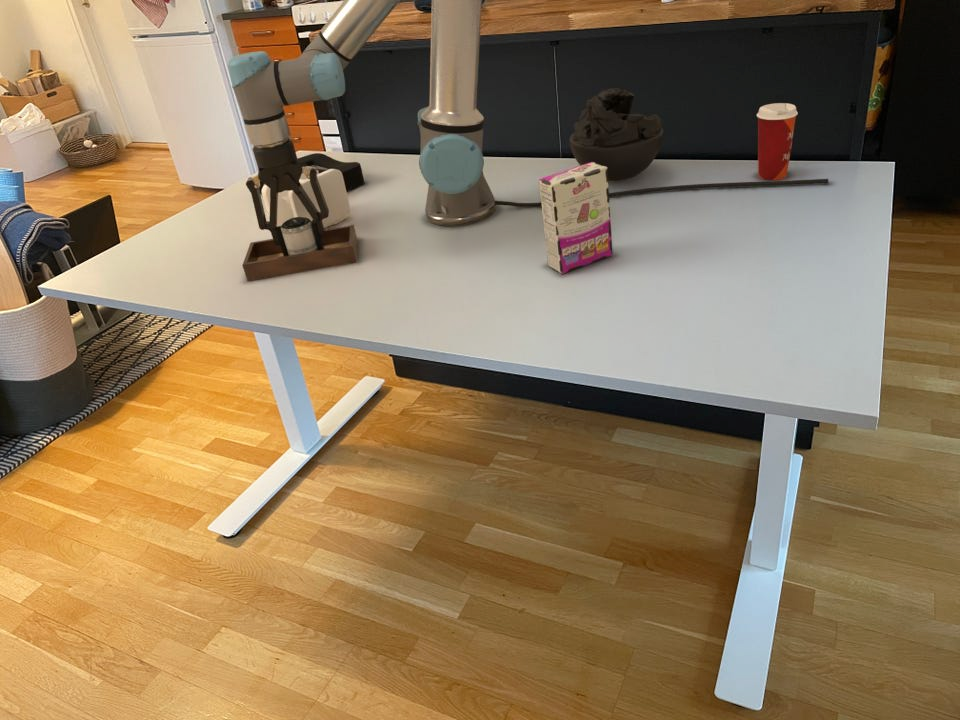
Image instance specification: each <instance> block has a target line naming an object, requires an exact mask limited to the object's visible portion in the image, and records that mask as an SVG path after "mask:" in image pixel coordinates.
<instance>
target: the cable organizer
mask: <svg viewBox="0 0 960 720" xmlns="http://www.w3.org/2000/svg"><path fill="white" fill-rule="evenodd" d="M317 179H318V182H319V184H320V187H321V190H322V193H323V195H324V198H325V201H326V204H327V207H328V209H329V215H328V217H327V218H324V219H323V220H322V223H323V226H324V229H325V228H327V227H329V226H333V225H334V226H335V225H337V224H339V223H341V222H343V221H344V220H345V218H347V217H348V216H349V214H350V212H351V205H350V200H349V195H348V191H346V188H345V183H344V179H343V175H342V173H341V171H339V170H336V169H329V170H327V171H324V172H322V173H320V174H319V172H318V170H317ZM299 182H300V183H301V185H302V187H303V189H304V191H305V192H306V194H307V195H308V197H309V198H310V200H311V201H312V203H313V204H314V206H315V207H316V209H317V210H318V212H321V211H320V208H319V206H318V203H317V200H316V197H315V195H314V192H313V189H312V187H311V183H310V179H307V178H306V175H305V174H304V173H302V175H301V177H300V180H299ZM261 197H262V199H263V200H262V201H263V203H264V206H265V209H266V214H267V216H268V219H269V218H270V188H269V187H268V186H266V185H264V186H263V188H262V194H261ZM295 217H306V218H308V219H310V220H311V221H312V220H313V219H312V217H311V216H310V214H309V213H308V211H307V210H306V208H305V207H304V205H303V204H302V202H301V201H300V199H299V198H298V196H297V195H296V194H295V193H294V192H293V190H291V191H283V192H280V193H278V208H277V227H278V226H282V224H283V223H284V222H286V221H287V220H289V219H291V218H295Z"/></svg>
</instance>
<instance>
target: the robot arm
mask: <svg viewBox="0 0 960 720" xmlns="http://www.w3.org/2000/svg"><path fill="white" fill-rule="evenodd" d="M400 2H401V0H343V1H342V3H341V4H340V5H339V6H338V8H337V9H336V10H335V12H334V13H333V14H332V16H331V17H330V18H329V19H328V20H327V21H326V23H325V24H324V26H322V28H321V29H320V30H319V32H318V33H317V34H316V35H315V37H314V38H313V39H312V41H310V43H309V44H308V45H307V47H305V49H304V50H303V51H302V53H301V54H300V55H299V57H296V58H291V59H285V60H281V61H280V60H279V61H272V59H271V58H270V56H269V54H268V53H267V52H266V51H264V50H259V51H250V52H245V53H241V54H237V55H234V56H233V57H231V58H230V59H229V60H228V61H227V69H228V73H229V78H230V81H231V88H232V90H233V93H234V96H235V99H236V102H237V104H238V107H239V110H240V113H241V116H242V120H243V124H244V127H245V130H246V131H245V132H246V134H247V137H248V140H249V144H250V145H252V146H253V148H252V153H253V156H254V159H255V163H256V166H257V169H258V170H257V171H258V172H257V175H256V176H253V177H248V178H247V180H246V182H245V186H246V187H247V189H248V191H249V193H250V194H251V198H252V202H253V207H254V211H255V217H256V220H257V224H258V229H260V230H261V231H264V230H266V231H269V232H270V234H271V237H272V239H273V241H274V244H275V245H276V246H277V245H280V246H281V249H282V252H283V255H284V256H289V254H288V252H287V248H286V245H285V242H284V239H283V235H282V232H281V226H278V227H277V208H278V193H280V192H283V191H291V190H293V192H294V193H295V194H296V195H297V196H298V198H299V199H300V201H301V202H302V204H303V205H304V207H305V208H306V210H307V211H308V213H309V214H310V216H311V217H312V219H313V220H312V224H311V225H312V229H313V232H314V236H315V239H316V243H317V246H318V250H323V249H324V246H323V242H322V239H321V237H324V235H325V230H326V229H325V228H324V226H323V223H322V220H323V219H324V218H327V217H328V215H329V209H328V207H327V204H326V201H325V198H324V195H323V193H322V190H321V187H320V184H319V182H318V179H317V167H316V166H312V167H302V165H301V164H300V163H299V161H298V156H297V152H296V148H295V145H294V141H293V139H291V138H290V137H291V136H292V135H291V131H290V127H289V124H288V120H287V116H286V113H285V110H284V107H288V106H292V105H298V104H307V103H311V102H312V103H314V102H318V101H329V100H331V99H334V98H340V97H342V96H344V94H345V93H346V80H345V74H344V69H346V67H347V66H348V65H349V64H350V63H351V61H352V59H353V58H354V57H355V56H356V55H357V53H358V52H359V51H360V50H361V49H362V48H363V47H364V45H365V44H366V43H367V41H369V39H370V38H371V37H372V36H373V34H374V33H375V32H376V31H377V30H378V28H379V27H380V26H381V25H382V24H383V22H384V21H385V20H386V19H387V18H388V17H389V15H390V14H391V13H392V12H393V11H394V9H395V8H396V7H397V5H398V4H399V3H400ZM482 5H483V0H431V12H430V13H431V16H430V17H431V18H430V22H431V23H430V60H429V62H430V63H429V65H430V67H429V105H428V106H426V107H423V108H421V109H419V110H418V111H417V126H418V128H419V133H420V155H419V157H418V159H419V160H418V166H419V170H420V173H421V175H422V177H423V179H424V180H425V182H426V183H427V184H428V186H427V187H428V188H427V194H426V200H425V201H426V202H425V208H424V212H425V217H426V220H427V222H429V223H430V224H433V225H435V226H440V227H441V226H442V227H459V226H460V227H461V226H466V225H472V224H474V223H478V222H481V221H483V220H485V219H487V218H489V217H491V216H492V215H493V214H494V213H495V212H496V209H497V206H509V207H516V208H536V207H537V208H538V207H542V206H541V201H539V202H515V201H505V200H496V197H495V195H494V194H493V192H492V190H491V187H490V186H489V183H488V181H487V180H486V177H485V175H484V166H485V160H484V155H483V141H484V122H485V117H484V116H483V114H482V113H481V111H479V109H478V108H477V102H478V101H477V100H478V82H479V81H478V80H479V61H480V45H481V43H480V42H481V26H482V25H481V24H482V7H483V6H482ZM302 173H304V174H305V175H306V178H307V179H310V183H311V187H312V189H313V192H314V195H315V197H316V200H317V203H318V206H319V208H320V211H321V212H318V210H317V209H316V207H315V206H314V204H313V203H312V201H311V200H310V198H309V197H308V195H307V194H306V192H305V191H304V189H303V187H302V185H301V183H300V182H299V180H300V177H301V175H302ZM260 181H261V182H263V183H264V184H265V185H266V186H268V187H269V188H270V218H269V217H268V219H269V221H267V217H266V213H265V208H264V205H263V203H264V202H263V200H262V199H263V198H262V194H260V190H259V187H260ZM815 184H816V185H817V184H829V178H815V179H813V178H812V179H795V180H793V179H792V180H764V181H741V182H739V181H738V182H716V183H715V182H713V183H697V184H682V185H681V184H680V185H669V186H657V187H646V188H638V189H637V188H636V189H629V190H628V189H627V190H621V191H614V192H609V198H612V197H619V196H620V197H621V196H628V195H629V196H630V195H636V194H637V195H638V194H645V193H655V192H657V193H658V192H667V191H679V190H680V191H681V190H693V189H695V190H697V189H713V188H738V187H740V188H741V187H763V186H764V187H767V186H768V187H769V186H772V187H773V186H795V185H796V186H797V185H815Z"/></svg>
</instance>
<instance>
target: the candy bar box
mask: <svg viewBox="0 0 960 720" xmlns="http://www.w3.org/2000/svg"><path fill="white" fill-rule="evenodd" d="M538 187H539V195H540V196H539V197H540V202H541V206H540V207H541V214H542V215H541V216H542V223H543V233H544V241H545V248H546V257H547V258H546V259H547V264H548V267H550V268H551V269H552V270H554V271H556V272H557V273H559V274H561V275H564V274H567V273H569V272H572V271H574V270H577V269H580V268H583V267H585V266H588V265H591V264H594V263H596V262H598V261H601V260H604V259H608V258H609V257H612V256H613V239H612V237H613V235H612V223H611V209H610V208H611V205H610V197H609V193H610V189H609V181H608V171H607V167H605V166H602V165H600V164H596V163H595V162H590V163H587V164H584V165H581V166H580V165H578V166H575V167H571V168H569V169H565V170H562V171H559V172H557V173H554V174H551V175H547V176H544V177H541V178H538Z"/></svg>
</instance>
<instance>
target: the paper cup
mask: <svg viewBox="0 0 960 720" xmlns="http://www.w3.org/2000/svg"><path fill="white" fill-rule="evenodd" d="M798 114H799V112H798V111H797V106H796V105H795V104H792V103H787V102H785V103H784V102H777V103H776V102H775V103H769V104H765V105H762V106H760V107H759V109H758V112H757V113H756V117H757V132H758V133H757V136H758V137H757V174H758V175H757V176H758V178H759V179H760V180H764V181H781V180H784V179H785V178H786V177H787V175H788V170H789V165H790V158H791V152H792V145H793V138H794V131H795V124H796V118H797V116H798Z"/></svg>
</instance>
